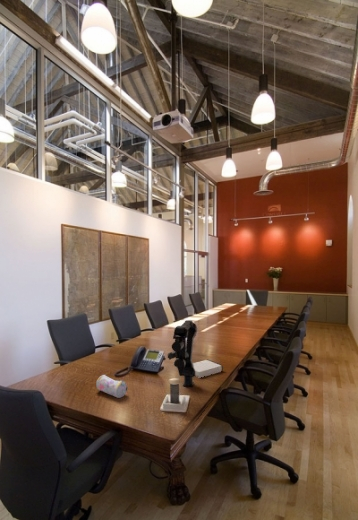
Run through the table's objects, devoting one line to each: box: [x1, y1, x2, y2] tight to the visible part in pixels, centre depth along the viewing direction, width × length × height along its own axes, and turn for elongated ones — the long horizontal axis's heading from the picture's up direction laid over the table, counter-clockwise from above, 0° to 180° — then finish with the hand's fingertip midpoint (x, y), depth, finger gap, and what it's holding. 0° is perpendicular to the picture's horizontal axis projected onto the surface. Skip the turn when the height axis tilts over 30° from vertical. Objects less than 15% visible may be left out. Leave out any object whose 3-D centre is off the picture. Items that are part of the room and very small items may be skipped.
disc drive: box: [192, 358, 223, 379], centre depth 205 cm, size 18×22×5 cm
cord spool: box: [168, 377, 181, 404], centre depth 152 cm, size 6×6×13 cm
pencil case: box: [95, 374, 128, 399], centre depth 170 cm, size 21×9×10 cm, turn 54°
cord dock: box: [159, 394, 191, 413], centre depth 155 cm, size 17×14×4 cm
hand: (181, 373), depth 167 cm, fingers open, 9 cm apart
